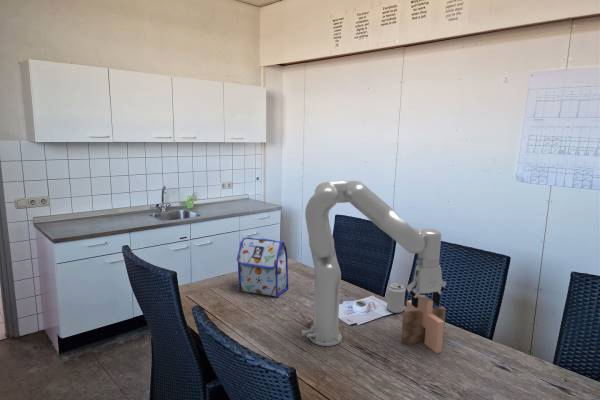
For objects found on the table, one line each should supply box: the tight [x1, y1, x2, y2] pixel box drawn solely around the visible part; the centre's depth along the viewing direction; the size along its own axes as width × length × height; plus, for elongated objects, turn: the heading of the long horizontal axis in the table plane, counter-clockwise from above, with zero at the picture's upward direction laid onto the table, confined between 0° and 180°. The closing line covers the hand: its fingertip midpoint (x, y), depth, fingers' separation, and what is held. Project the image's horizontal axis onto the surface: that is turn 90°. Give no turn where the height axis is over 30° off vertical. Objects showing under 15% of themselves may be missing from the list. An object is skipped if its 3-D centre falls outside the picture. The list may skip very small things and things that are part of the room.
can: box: [386, 282, 406, 314], centre depth 182 cm, size 8×8×12 cm
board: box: [400, 306, 447, 345], centre depth 156 cm, size 18×2×12 cm, turn 109°
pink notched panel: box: [405, 294, 445, 354], centre depth 156 cm, size 20×2×17 cm, turn 19°
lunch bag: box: [236, 236, 290, 298], centre depth 200 cm, size 23×17×27 cm
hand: (425, 304), depth 155 cm, fingers open, 9 cm apart
